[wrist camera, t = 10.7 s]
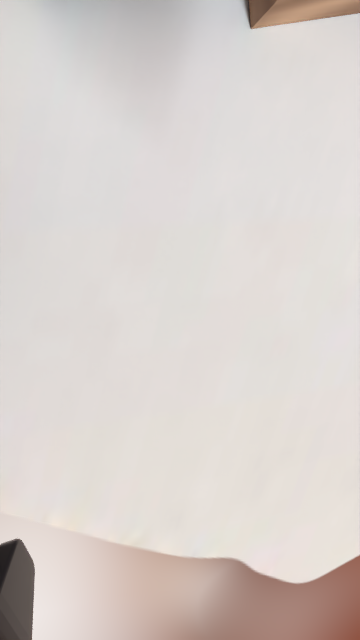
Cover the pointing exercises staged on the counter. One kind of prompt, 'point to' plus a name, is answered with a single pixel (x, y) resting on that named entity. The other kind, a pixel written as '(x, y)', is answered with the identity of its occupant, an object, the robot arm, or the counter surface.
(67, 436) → the counter surface
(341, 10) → the lane rails
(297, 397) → the counter surface
